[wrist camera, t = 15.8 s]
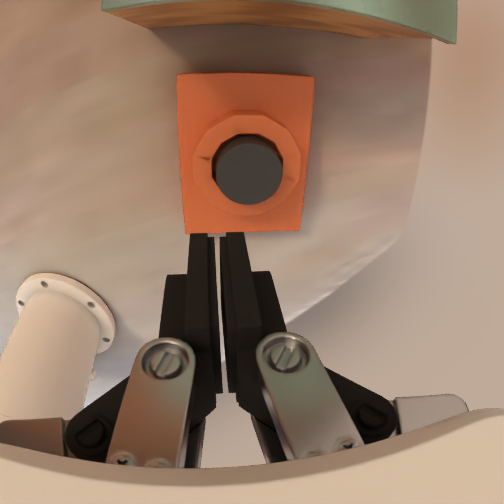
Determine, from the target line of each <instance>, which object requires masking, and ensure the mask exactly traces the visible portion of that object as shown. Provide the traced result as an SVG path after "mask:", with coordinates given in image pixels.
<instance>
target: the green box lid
mask: <svg viewBox="0 0 504 504" xmlns="http://www.w3.org/2000/svg"><path fill="white" fill-rule="evenodd" d="M191 1H218V0H102V4H101V10H102V11H104V12H107V13H108V12H113V11H118V10H124V9H130V8H136V7H142V6H149V5H157V4H166V3H177V2H191ZM234 1H261V2H275V3H286V4H295V5H303V6H311V7H317V8H323V9H329V10H335V11H340V12H345V13H350V14H354V15H359V16H363V17H367V18H371V19H375V20H379V21H382V22H386V23H390V24H393V25H396V26H400V27H403V28H406V29H409V30H412V31H415V32H418V33H421V34H424V35H426V36H429V37H432V38H434V39H437V40H439V41H442V42H444V43H447V44H456V36H457V0H234Z"/></svg>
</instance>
